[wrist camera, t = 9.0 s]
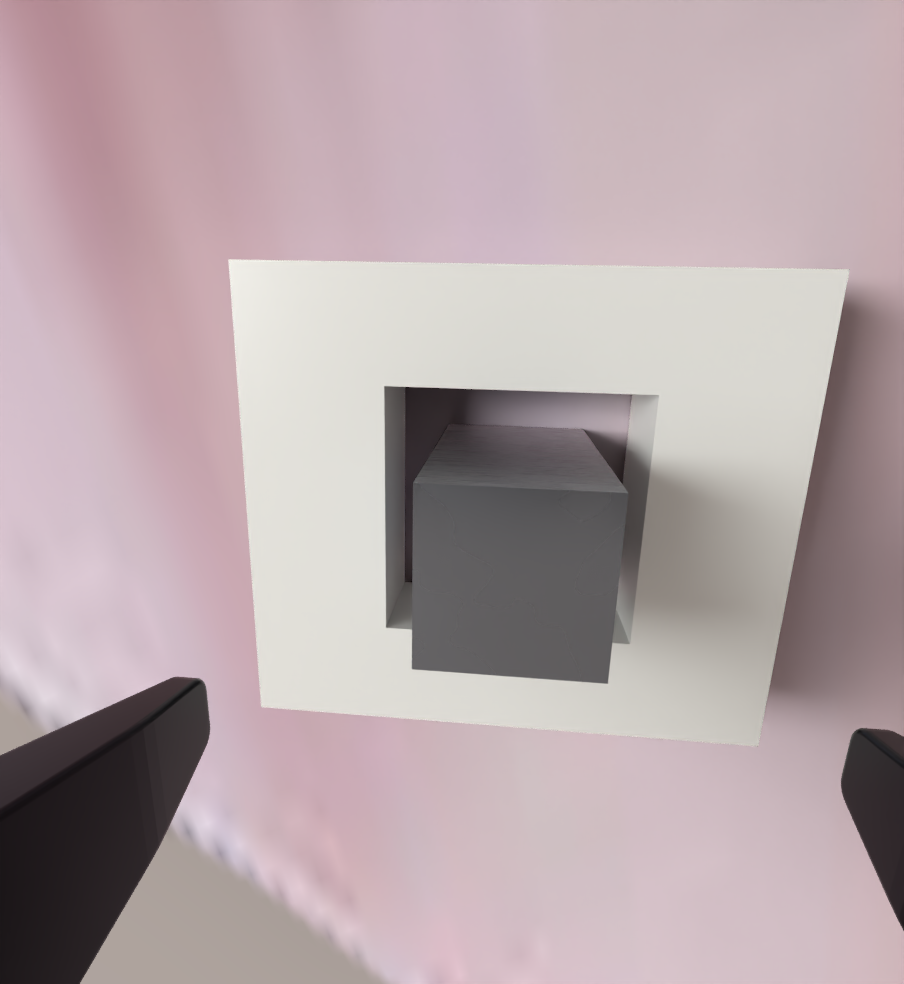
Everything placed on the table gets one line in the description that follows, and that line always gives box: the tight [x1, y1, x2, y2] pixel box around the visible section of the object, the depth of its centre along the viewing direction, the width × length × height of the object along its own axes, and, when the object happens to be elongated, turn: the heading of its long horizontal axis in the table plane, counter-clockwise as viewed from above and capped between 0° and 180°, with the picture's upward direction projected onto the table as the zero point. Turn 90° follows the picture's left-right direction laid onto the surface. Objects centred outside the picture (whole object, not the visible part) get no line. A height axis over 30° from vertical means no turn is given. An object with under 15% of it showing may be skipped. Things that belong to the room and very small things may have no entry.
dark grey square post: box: [412, 424, 629, 684], centre depth 17 cm, size 4×4×8 cm
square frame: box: [229, 260, 850, 747], centre depth 19 cm, size 16×14×4 cm
